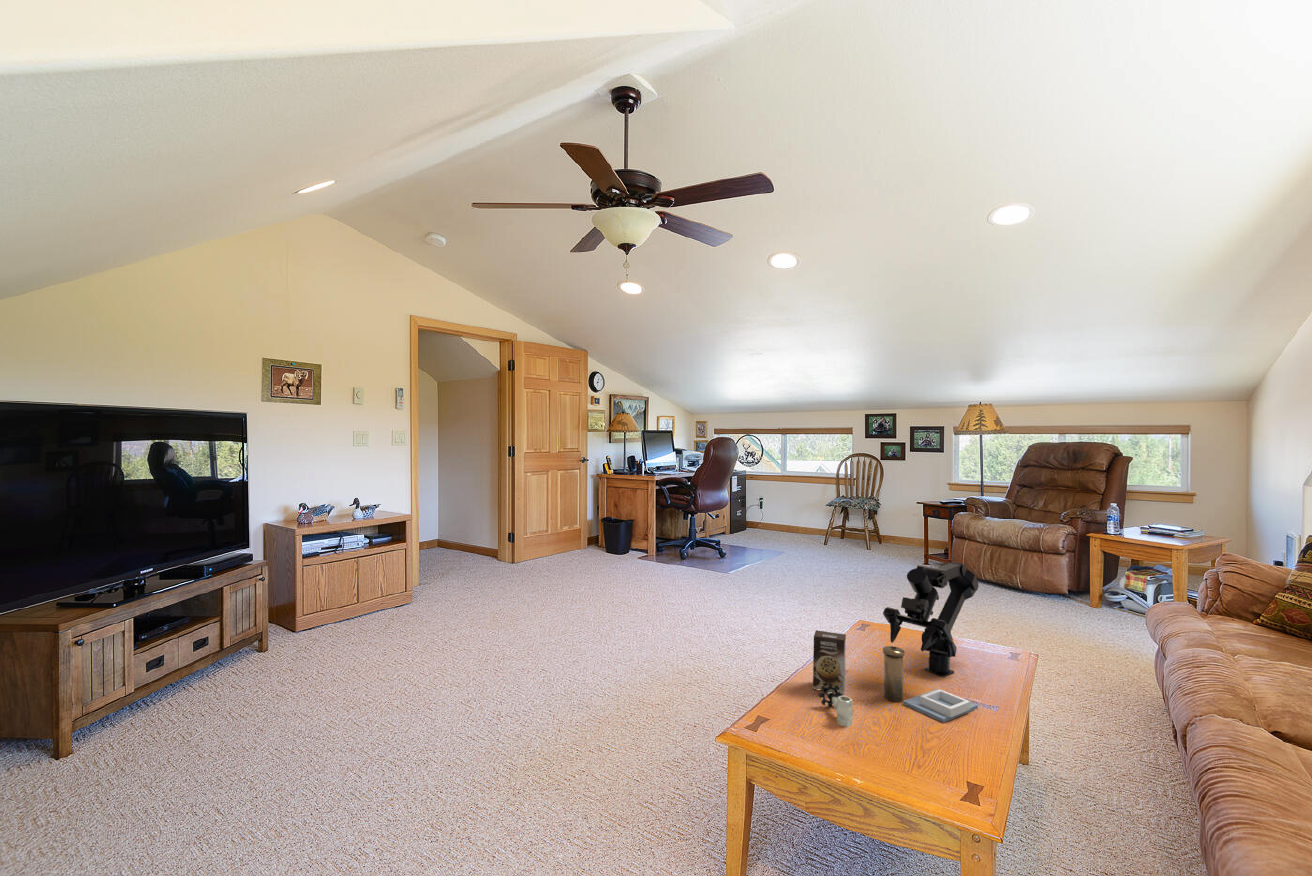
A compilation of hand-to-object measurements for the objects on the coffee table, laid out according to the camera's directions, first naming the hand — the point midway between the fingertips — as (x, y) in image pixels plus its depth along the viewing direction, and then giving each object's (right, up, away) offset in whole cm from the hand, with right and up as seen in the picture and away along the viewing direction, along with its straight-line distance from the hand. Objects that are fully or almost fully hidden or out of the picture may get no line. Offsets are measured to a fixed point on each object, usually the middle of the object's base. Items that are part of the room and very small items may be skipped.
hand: (906, 646), depth 169 cm
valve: (-26, -13, -16) cm, 33 cm away
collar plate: (+5, -13, -10) cm, 17 cm away
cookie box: (-23, -13, +1) cm, 26 cm away
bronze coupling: (-6, -13, -5) cm, 15 cm away
